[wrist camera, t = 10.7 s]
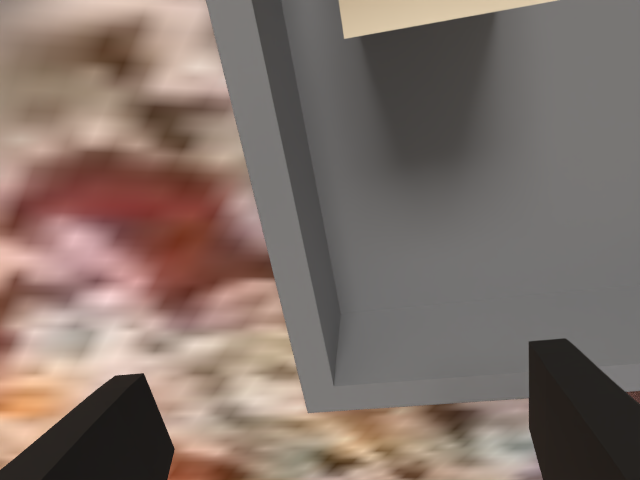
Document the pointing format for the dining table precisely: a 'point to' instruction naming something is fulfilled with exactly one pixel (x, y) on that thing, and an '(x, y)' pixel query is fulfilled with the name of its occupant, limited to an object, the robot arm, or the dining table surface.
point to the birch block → (414, 12)
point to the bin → (443, 192)
